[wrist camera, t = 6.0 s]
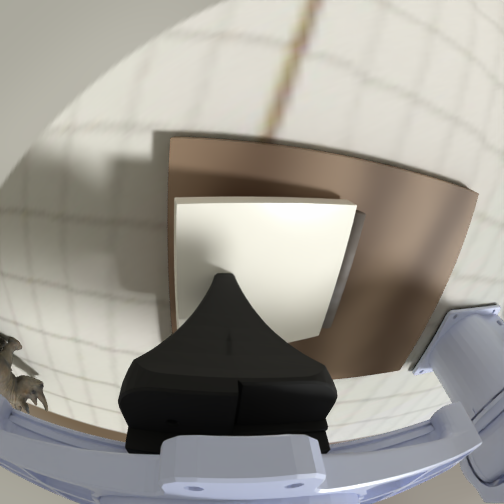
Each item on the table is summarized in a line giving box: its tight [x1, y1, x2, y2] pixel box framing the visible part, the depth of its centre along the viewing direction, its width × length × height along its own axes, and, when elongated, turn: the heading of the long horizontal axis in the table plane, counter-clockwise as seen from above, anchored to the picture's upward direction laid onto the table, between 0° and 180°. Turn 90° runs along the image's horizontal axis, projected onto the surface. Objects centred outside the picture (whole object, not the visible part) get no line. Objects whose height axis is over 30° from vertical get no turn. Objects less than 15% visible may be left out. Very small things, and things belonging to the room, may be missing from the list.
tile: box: [174, 197, 357, 343], centre depth 13 cm, size 8×8×1 cm
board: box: [168, 136, 479, 379], centre depth 16 cm, size 18×16×2 cm
